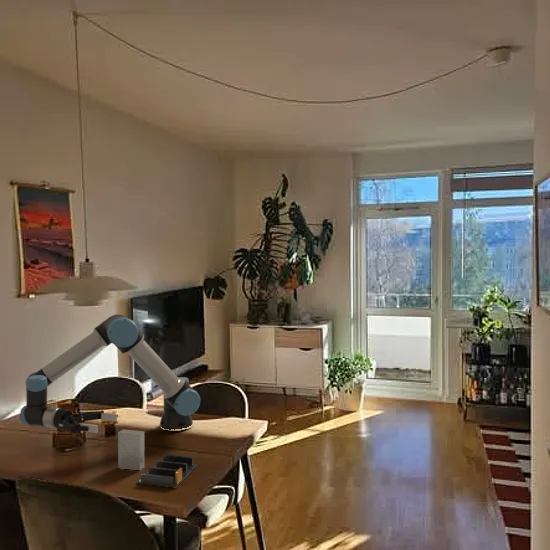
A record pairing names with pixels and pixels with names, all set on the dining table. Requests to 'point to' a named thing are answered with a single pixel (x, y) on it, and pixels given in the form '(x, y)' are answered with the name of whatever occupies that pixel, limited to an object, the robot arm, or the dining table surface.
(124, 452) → the panel
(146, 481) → the rack
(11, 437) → the dining table surface
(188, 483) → the dining table surface
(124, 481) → the dining table surface
